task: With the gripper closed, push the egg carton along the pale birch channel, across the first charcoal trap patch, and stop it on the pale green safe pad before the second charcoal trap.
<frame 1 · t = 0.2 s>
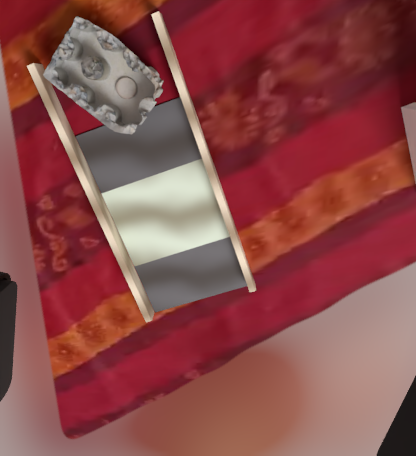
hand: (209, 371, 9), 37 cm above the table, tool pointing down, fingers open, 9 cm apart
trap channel: (154, 184, 45), on the table
egg carton: (113, 80, 42), on the table, touching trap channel
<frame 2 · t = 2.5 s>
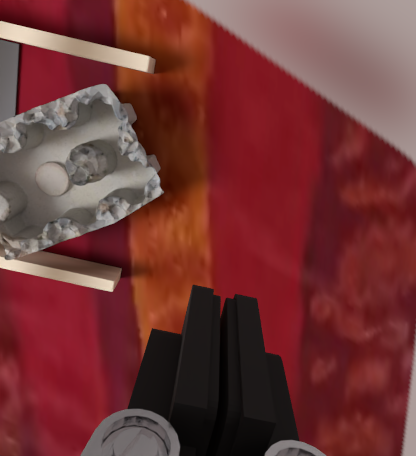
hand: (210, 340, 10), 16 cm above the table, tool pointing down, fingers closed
egg carton: (76, 165, 25), on the table, touching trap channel
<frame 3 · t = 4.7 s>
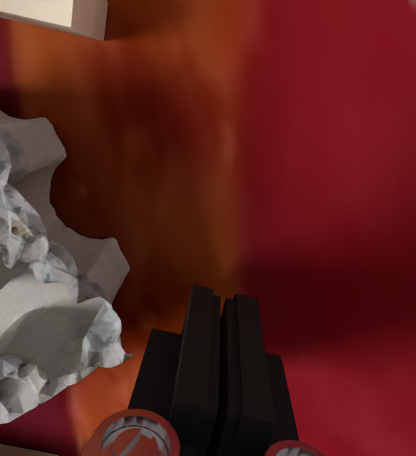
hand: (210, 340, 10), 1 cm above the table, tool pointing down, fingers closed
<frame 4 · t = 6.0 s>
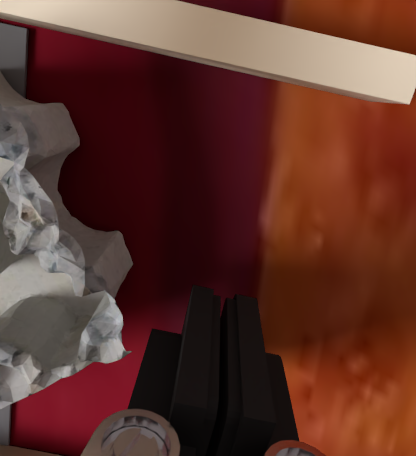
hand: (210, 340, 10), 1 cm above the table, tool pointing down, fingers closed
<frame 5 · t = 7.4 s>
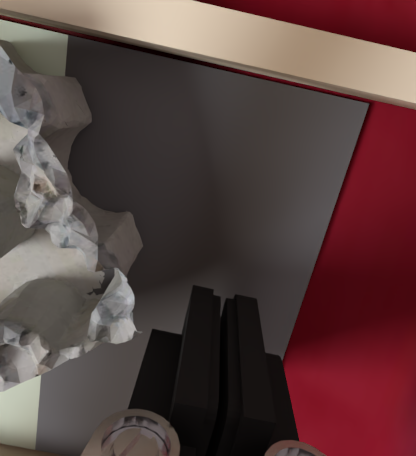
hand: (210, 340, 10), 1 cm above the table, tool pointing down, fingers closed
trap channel: (14, 274, 11), on the table
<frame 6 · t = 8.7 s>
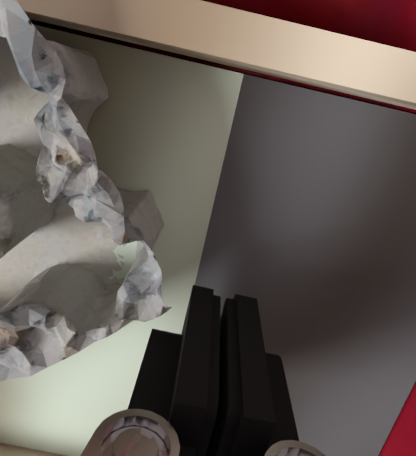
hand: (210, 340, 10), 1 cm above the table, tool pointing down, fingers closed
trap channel: (154, 303, 11), on the table
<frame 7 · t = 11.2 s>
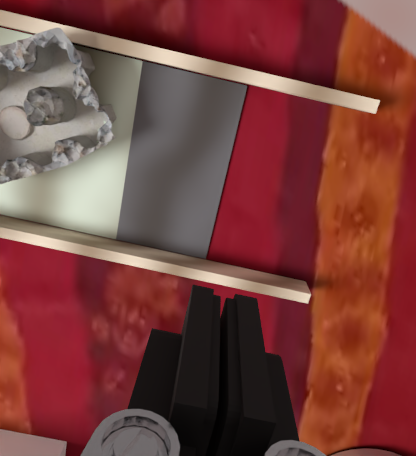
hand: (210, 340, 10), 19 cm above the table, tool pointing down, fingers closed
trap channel: (114, 153, 27), on the table
egg carton: (38, 111, 27), resting on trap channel
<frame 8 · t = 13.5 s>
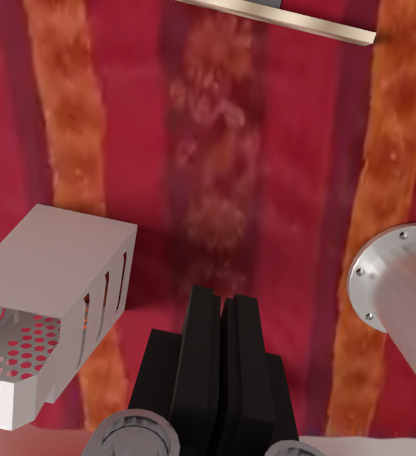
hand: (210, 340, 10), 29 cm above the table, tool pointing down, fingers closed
grater: (83, 258, 42), on the table
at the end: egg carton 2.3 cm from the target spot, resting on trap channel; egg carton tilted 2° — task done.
